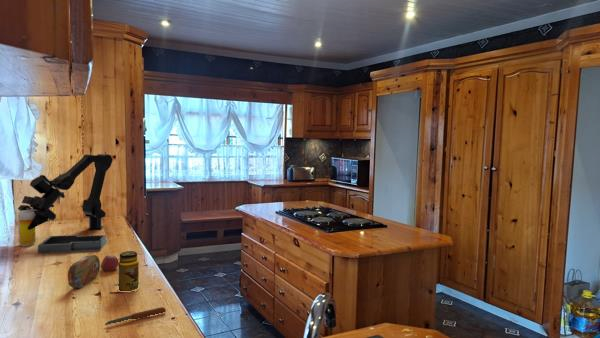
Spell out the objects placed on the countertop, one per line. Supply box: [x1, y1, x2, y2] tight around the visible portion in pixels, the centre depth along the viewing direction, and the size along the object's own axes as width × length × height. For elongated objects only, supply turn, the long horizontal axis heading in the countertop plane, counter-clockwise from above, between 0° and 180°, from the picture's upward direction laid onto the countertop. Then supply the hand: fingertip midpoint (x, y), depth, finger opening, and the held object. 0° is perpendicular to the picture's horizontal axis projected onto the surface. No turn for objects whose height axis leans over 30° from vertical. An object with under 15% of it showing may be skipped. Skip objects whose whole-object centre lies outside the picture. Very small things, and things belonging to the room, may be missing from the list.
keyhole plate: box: [37, 234, 108, 255], centre depth 168 cm, size 15×23×4 cm, turn 107°
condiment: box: [114, 250, 142, 291], centre depth 126 cm, size 7×8×12 cm
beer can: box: [17, 210, 37, 247], centre depth 169 cm, size 6×6×15 cm
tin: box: [67, 254, 101, 289], centre depth 130 cm, size 15×3×8 cm, turn 179°
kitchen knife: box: [104, 306, 167, 326], centre depth 106 cm, size 16×1×2 cm, turn 126°
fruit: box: [100, 254, 120, 273], centre depth 143 cm, size 6×6×8 cm
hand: (23, 228), depth 168 cm, fingers closed on beer can, 6 cm apart
